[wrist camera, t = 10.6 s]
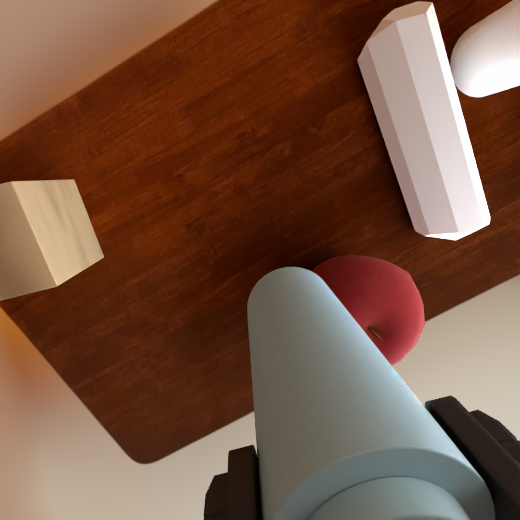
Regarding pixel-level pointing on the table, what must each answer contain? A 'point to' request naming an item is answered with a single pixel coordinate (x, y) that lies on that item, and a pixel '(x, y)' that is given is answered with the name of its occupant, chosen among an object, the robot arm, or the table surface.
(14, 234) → the cube
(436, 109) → the crystal
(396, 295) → the apple
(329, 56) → the table surface
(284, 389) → the bottle
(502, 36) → the cylindrical container
